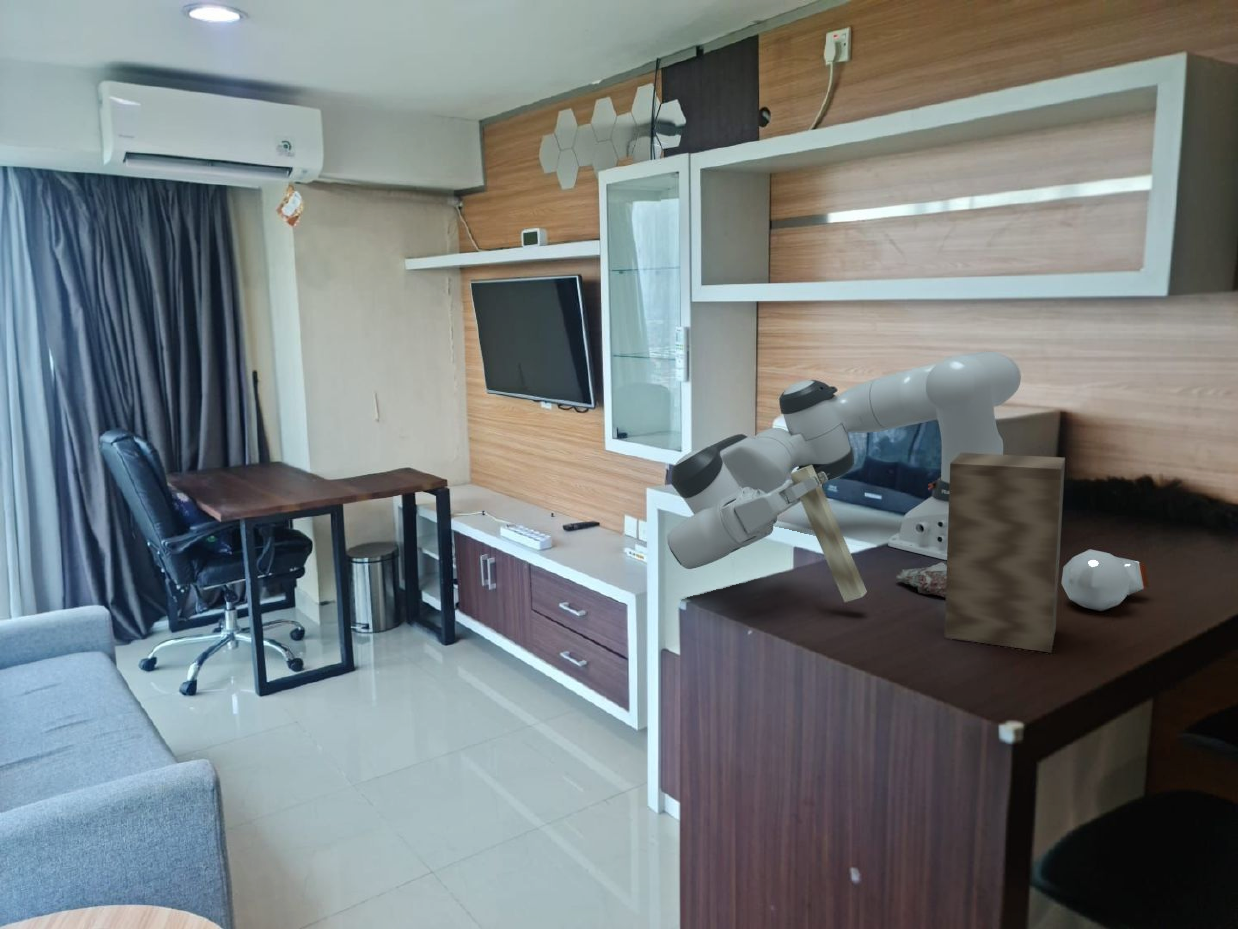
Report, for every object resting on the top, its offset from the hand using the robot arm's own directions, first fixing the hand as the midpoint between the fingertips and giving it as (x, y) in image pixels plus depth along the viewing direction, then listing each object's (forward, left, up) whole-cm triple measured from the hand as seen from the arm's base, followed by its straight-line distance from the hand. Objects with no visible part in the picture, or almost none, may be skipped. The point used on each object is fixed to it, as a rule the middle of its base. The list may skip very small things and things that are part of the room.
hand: (820, 478), depth 136 cm
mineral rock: (+11, +21, -22) cm, 32 cm away
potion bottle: (+33, +31, -22) cm, 50 cm away
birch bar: (0, 0, -9) cm, 9 cm away
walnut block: (+26, +7, -22) cm, 35 cm away
